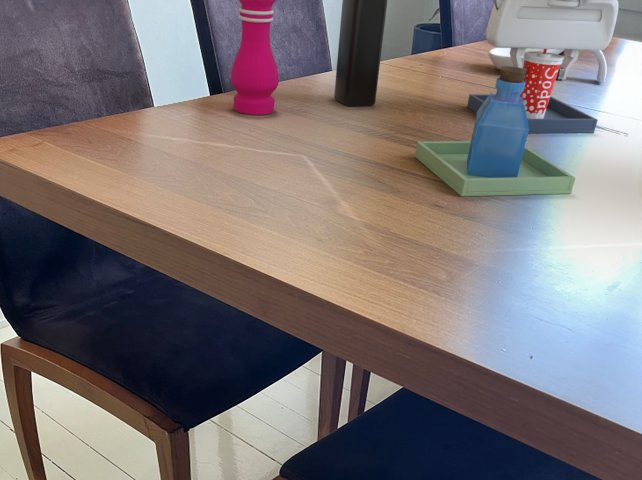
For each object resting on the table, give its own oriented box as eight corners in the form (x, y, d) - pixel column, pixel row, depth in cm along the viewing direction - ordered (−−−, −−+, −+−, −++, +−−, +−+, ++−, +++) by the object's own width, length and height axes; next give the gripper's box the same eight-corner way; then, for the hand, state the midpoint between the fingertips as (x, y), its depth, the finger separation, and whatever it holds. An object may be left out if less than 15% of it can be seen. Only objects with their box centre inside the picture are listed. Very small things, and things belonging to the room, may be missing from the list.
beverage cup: (518, 120, 117) (542, 20, 108) (504, 110, 122) (526, 13, 113) (554, 121, 118) (580, 22, 109) (539, 111, 123) (563, 15, 114)
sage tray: (514, 155, 103) (517, 140, 102) (571, 193, 92) (575, 177, 91) (414, 156, 100) (417, 141, 98) (461, 196, 88) (464, 179, 87)
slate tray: (545, 107, 128) (549, 95, 126) (594, 132, 116) (598, 119, 115) (466, 107, 124) (469, 94, 123) (508, 133, 112) (511, 119, 111)
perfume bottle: (516, 181, 93) (541, 77, 85) (467, 174, 93) (488, 71, 86) (513, 166, 98) (537, 67, 90) (467, 160, 98) (487, 61, 91)
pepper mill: (237, 101, 116) (239, -51, 103) (282, 107, 115) (289, -46, 103) (224, 112, 110) (224, -47, 98) (271, 118, 109) (277, -42, 97)
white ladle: (485, 74, 146) (493, 34, 141) (485, 63, 155) (492, 25, 150) (606, 88, 143) (618, 47, 139) (598, 76, 152) (610, 37, 148)
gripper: (510, -24, 103) (488, 83, 111) (634, -17, 108) (603, 85, 116) (490, -29, 107) (470, 74, 116) (609, -23, 113) (582, 76, 121)
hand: (538, 80), depth 116 cm, fingers closed on beverage cup, 6 cm apart
